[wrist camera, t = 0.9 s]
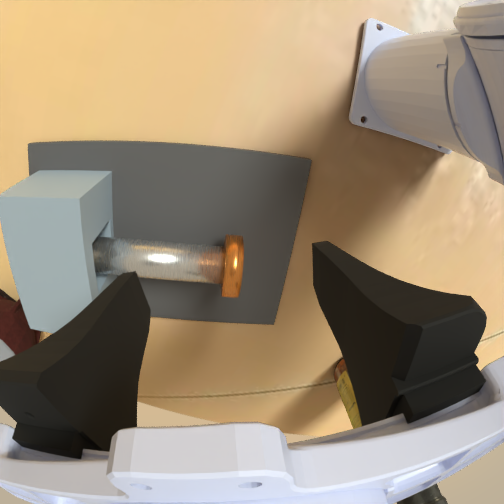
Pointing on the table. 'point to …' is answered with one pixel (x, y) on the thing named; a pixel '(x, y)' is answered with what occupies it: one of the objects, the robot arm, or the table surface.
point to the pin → (174, 261)
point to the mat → (198, 214)
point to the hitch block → (56, 242)
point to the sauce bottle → (427, 500)
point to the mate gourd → (14, 328)
